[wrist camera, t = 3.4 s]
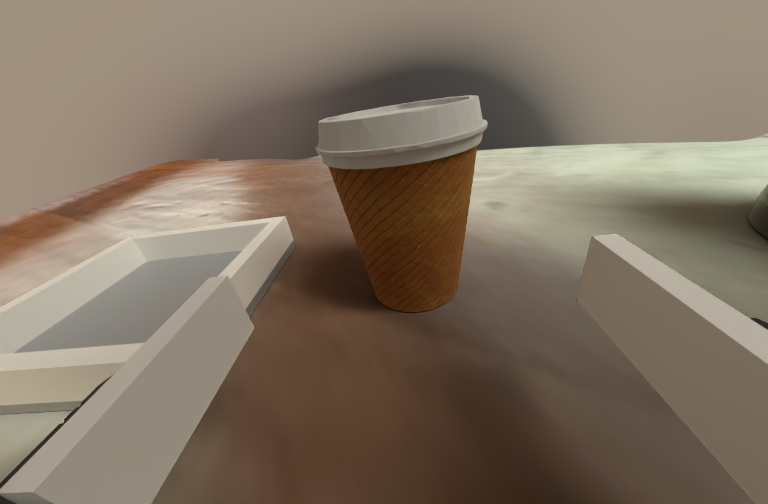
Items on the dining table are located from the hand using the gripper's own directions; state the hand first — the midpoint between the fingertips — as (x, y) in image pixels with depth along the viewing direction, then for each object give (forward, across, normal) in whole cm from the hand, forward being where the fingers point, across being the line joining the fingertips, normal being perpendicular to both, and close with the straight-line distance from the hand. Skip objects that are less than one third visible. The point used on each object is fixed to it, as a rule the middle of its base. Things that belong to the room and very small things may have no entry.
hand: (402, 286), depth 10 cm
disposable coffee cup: (+9, 0, -7) cm, 11 cm away
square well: (+9, -20, -6) cm, 23 cm away
